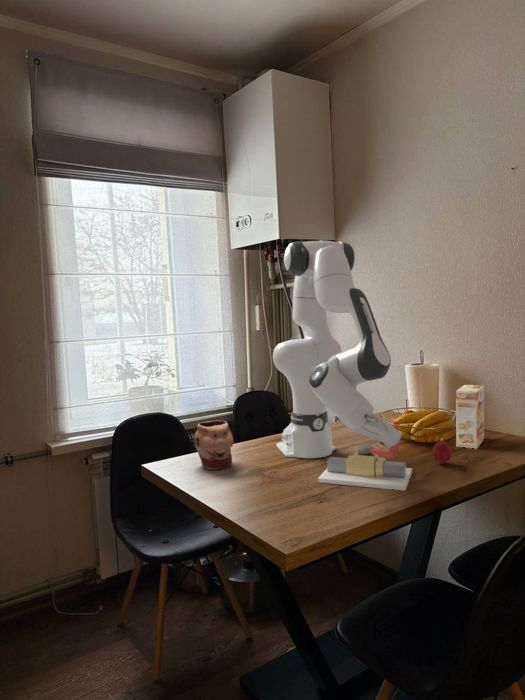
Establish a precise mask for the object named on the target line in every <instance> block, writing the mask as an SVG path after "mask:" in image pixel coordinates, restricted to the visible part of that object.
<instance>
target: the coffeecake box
mask: <svg viewBox="0 0 525 700" xmlns="http://www.w3.org/2000/svg"><path fill="white" fill-rule="evenodd" d="M455 412H456V413H455V417H456V418H455V421H456V422H455V423H456V424H455V425H456V427H455V428H456V429H455V433H456V436H455V437H456V440H455V441H456V442H455V446H456V448H463V447H465V449H472V448H474V449H473V450H477V449H478V448H479V447H480V445H481V444H482V442H483V441H484V440H483V439H485V385H480V384H479V385H478V384H464V385H462V386H461V387H459V388H457V390H456V391H455Z"/></svg>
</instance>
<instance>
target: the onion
mask: <svg viewBox="0 0 525 700" xmlns="http://www.w3.org/2000/svg"><path fill="white" fill-rule="evenodd" d="M431 454H432V456H433V458H434V460H436V462H437V463H439V464H440V465H444V464H446V463H447V462H449V461H450V459H451V458H452V457H453V449H452V447H451V446H450V444H449V443H448V442H446V441H445V439H444V438H443V437H441V438H440V440H439V441H437V442H436V443H435V444H434V445H433V447H432V453H431Z"/></svg>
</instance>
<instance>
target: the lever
mask: <svg viewBox="0 0 525 700" xmlns="http://www.w3.org/2000/svg"><path fill="white" fill-rule="evenodd" d="M390 424H391V425H392V426H393V427H394V428H395V429H396V430H398V431H399V424H398V423H390ZM357 449H358V453H361V454H376V455H378V456H380V457H381V456H382V457H384V458H389V459H390V458H391V459H392V458H393V459H394V458H395V457H397V455H399V442H398V443H397V444H396V445H395V446H392V447H391V448H388V449H389V450H384V449H381V448H380V449H379V448H375V447H374V446H373V445H371V444H361V445H358V446H357Z"/></svg>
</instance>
